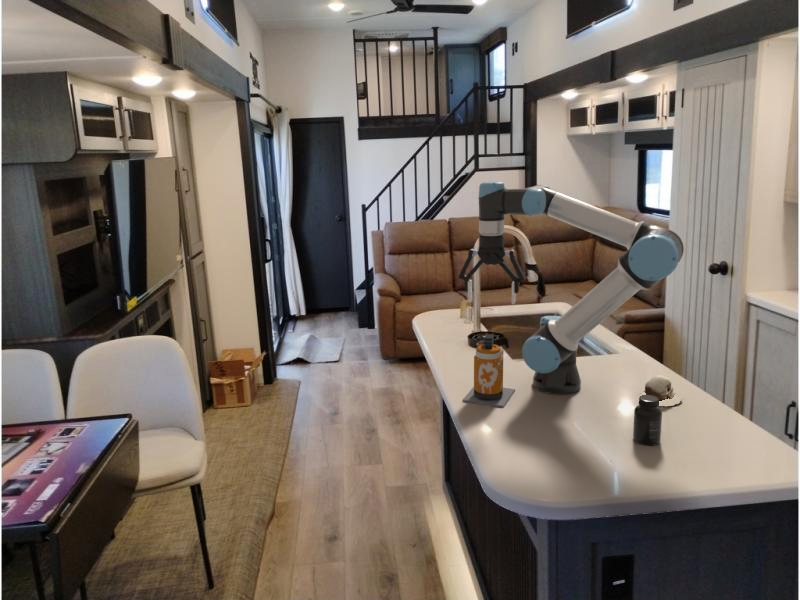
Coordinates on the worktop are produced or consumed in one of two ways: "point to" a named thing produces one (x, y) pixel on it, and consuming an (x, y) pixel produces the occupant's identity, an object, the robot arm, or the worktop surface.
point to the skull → (659, 388)
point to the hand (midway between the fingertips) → (491, 302)
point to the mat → (494, 402)
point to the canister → (488, 370)
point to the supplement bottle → (647, 421)
